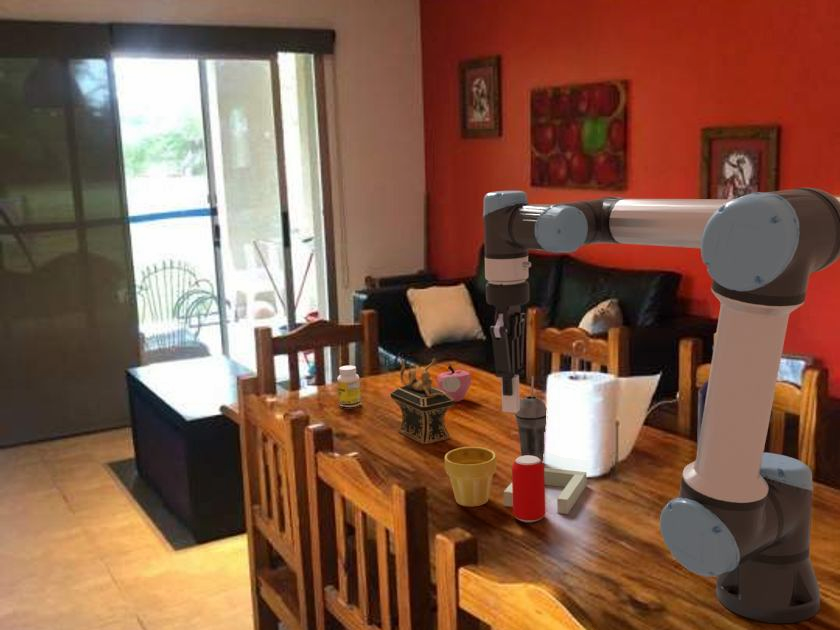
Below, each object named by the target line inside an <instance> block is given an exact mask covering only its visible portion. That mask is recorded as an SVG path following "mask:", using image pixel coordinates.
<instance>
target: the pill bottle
mask: <svg viewBox="0 0 840 630" xmlns="http://www.w3.org/2000/svg"><path fill="white" fill-rule="evenodd" d="M336 379H337V380H336V381H337V394H338V395H337V396H338V406H339V405H340V406H345V407H352V406H357V405H359V404H360V405H361V403H362V398H361V384H360V376H359V374H357V367H356V366H355V365H343V366H339V375H338V376H337V378H336ZM340 406H339V407H340Z"/></svg>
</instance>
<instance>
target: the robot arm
mask: <svg viewBox="0 0 840 630" xmlns="http://www.w3.org/2000/svg"><path fill="white" fill-rule="evenodd" d="M482 209H483V212H482V213H483V214H482V220H483V237H484V238H483V239H484V240H483V241H484V242H483V244H484V278H485V280H486V281H487V282H486V284H485V298H486V299H485V300H486V303H487V304H488V305H490V306H494V307H495V314H494V317H493V319H494V320H493V321H494V322H493V323H494V324H493V325H490V327H489V333H490V336H491V341H492V350H493V351H492V352H493V357H494V366H495V377H496V378H500V382H501V384H500V388H501V389H500V392H501V412H502V413H512V414H513V413H514V414H515V413H517V412H518V411H519V410H520V401H521V399H520V375H523V374H524V373H525V370H524V369H522V368H524V367H523V365H524V349H525V348H524V347H525V325H526V318H527V314H526V313H525V312H521V310H522V308H521V306H523V305H526V304H527V303H529V302H530V283H529V282H528V280H527V279H528V278H529V275H530V274H529V268H531V267H532V262H530V261H529V250H533V251H534V250H535V251H542V252H548V253H549V252H551V253H554V254H559V253H573V252H577V250H578V249H579V248H580V247H583V246H587V245H594V244H595V245H596V244H613V245H614V244H617V245H622V244H626V245H640V246H641V245H642V246H657V247H658V246H659V247H675V248H691V249H700V253H701V258H702V262H703V265H706V267H707V270H706V271H707V273H708V275H709V276H710V278H711V279H712V281H711V282H712V283H711V293H713V295H714V296H715V297H716V298H717V300H719V302H720V309H719V313H718V321H717V327H716V332H715V333H716V338H715V344H714V343H713V344H714V350H712V357H711V365H710V369H709V378H708V379H709V382H708V388H707V395H706V401H705V407H704V413H703V420H702V426H701V432H700V439H699V445H698V451H697V450H696V458H695V460H694V461H692V462H690V463H688V464H687V465H686V466H684V468H683V471H682V475H681V481H680V486H679V487H680V488H679V493H678V496H677V497H675V498H673V499H671V500H669V501H668V502H667V504H666V505H665V506H664V507H663V508H662V510H661V513H660V517H659V530H660V533H661V537H662V540H663V543H664V544H665V546H666V547H667V548H668V550H669V551H670V554H671V555H672V557H673V558H674V559H675V560H676V561H677V563H679V564H680V565H681V566H682V567H684V568H685V569H687V570H688V571H689V572H691V573H694V574H696V575H698V576H701V577H702V576H703V577H707V578H709V577H716V583H715V587H716V589H715V595H716V597H717V599H718V601H719V602H720V603H721V604H722V605H723V606H724V607H725V608H726V609H728V610H730V611H731V612H733V613H735V614H737V615H739V616H741V617H744V618H747V619H750V620H754V621H757V622H764V623H771V624H794V623H799V622H804V621H807V620H809V619H811V618H813V617H814V616H816V615H817V613H819V611H820V607H821V590H820V586H819V584H818V579H817V577H816V574H815V570H814V567H813V565H812V562H811V561H812V560H811V557H810V549H811V547H810V546H811V531H812V530H811V529H812V527H811V526H812V508H813V507H812V505H813V504H812V503H813V491H814V487H813V472H812V470H811V468H810V467H809V466H808V465H807V464H806V463H804V462H803V461H801V460H799V459H796V458H794V457H790V456H787V455H784V454H779V453H772V452H764V451H765V444H766V440H767V436H768V429H769V426H770V425H769V424H770V419H771V414H772V407H773V402H774V396H775V393H776V392H775V391H776V388H777V387H776V386H777V382H778V376H779V373H780V372H779V371H780V365H781V360H782V355H783V351H784V343H785V339H786V333H787V329H788V323H789V317H790V314H791V313H792V312H794V311H795V310H796V309H798V308H800V307H801V306H803V305H804V303H805V300H806V295H807V290H808V285H809V280H810V275H811V274H814V273H817V272H820V271H823V270H825V269H827V268H829V267H830V266H832V265H833V264H834V263H836V261H838V259H840V201H839V199H838V198H836V197H835V196H833V195H832V194H831V193H830V192H828V191H825V190H824V189H823V190H822V189H819V188H815V187H796V188H791V189H783V190H776V191H769V192H768V191H766V192H761V191H757V192H751V193H748V194H745V195H743V196H740V197H738V198H734V199H732V198H731V199H726V198H724V199H721V198H719V199H718V198H717V199H715V198H714V199H713V198H712V199H711V198H710V199H708V198H707V199H701V198H699V199H698V198H697V199H696V198H695V199H694V198H692V199H691V198H623V197H620V196H604V197H600V198H594V199H587V200H579V201H577V200H576V201H569V202H568V201H567V202H561V203H552V204H529V201H528V195H527V193H526V192H525V191H523V190H500V191H491V192H488V193H486V194H485V195H484V197H483V208H482ZM519 374H520V375H519Z"/></svg>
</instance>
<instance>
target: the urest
mask: <svg viewBox="0 0 840 630" xmlns="http://www.w3.org/2000/svg"><path fill="white" fill-rule="evenodd" d="M544 474H545V486H553V487H561V488H562V487H563V490H562V491H561V493H560V494H559V496H558V497H557V498H556V499H557V500H556V502H557V503H556V504H557V514H565V515H568V514H569V513H570V511H571V510H572V508H573V507H574V506H575V504H576V503H577V501H578V500H579V498H580V497H581V495H582V493H583V492H584V490H585V489H586V487H587V483H588V482H587V471H577V470H569V469H561V468H552V467H551V468H550V467H544ZM503 506H504V507H509V508H510V507H511V508H513V493H512V482H510V484H509V485H508V486H507V487H506V488H505V489H504V491H503Z"/></svg>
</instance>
